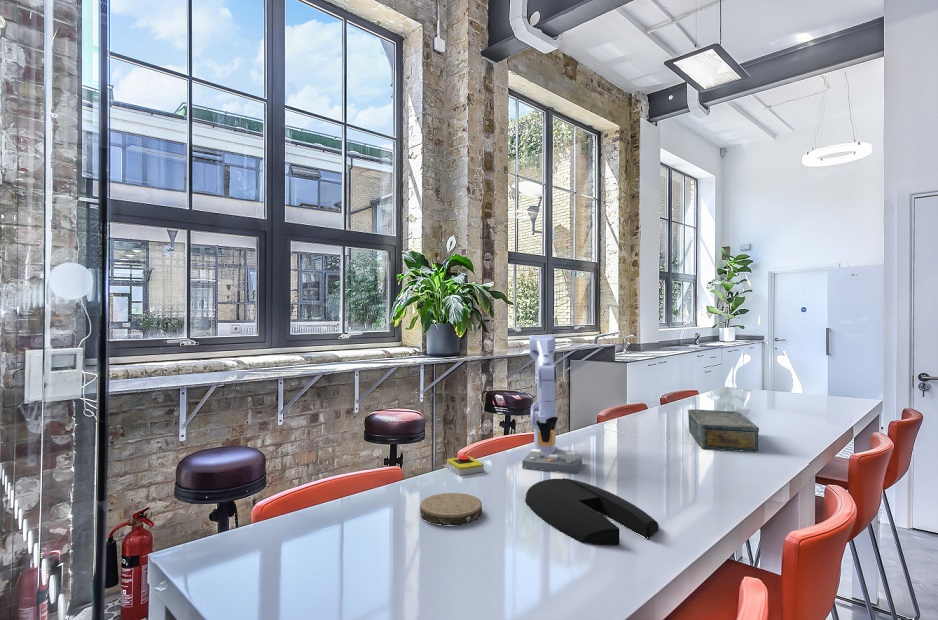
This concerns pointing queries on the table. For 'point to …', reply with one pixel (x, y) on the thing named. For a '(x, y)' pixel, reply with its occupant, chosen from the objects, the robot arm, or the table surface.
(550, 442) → the orange rounded cube
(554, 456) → the block
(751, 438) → the metal box
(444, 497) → the wood slice
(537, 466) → the breaker board
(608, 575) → the table surface
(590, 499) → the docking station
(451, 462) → the emergency button
